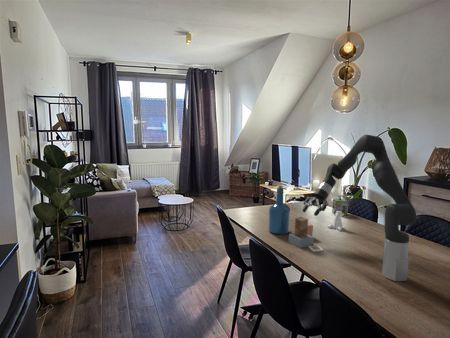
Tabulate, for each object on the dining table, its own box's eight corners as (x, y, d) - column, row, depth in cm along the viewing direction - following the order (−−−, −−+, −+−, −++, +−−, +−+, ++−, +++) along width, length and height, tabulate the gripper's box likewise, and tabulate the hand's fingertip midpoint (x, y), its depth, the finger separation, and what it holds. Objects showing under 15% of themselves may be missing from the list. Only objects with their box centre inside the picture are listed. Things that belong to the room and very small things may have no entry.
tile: (323, 250, 164) (323, 249, 164) (313, 251, 163) (313, 250, 163) (318, 246, 169) (318, 245, 169) (308, 247, 169) (308, 245, 168)
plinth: (313, 245, 172) (313, 237, 171) (299, 248, 168) (299, 239, 167) (302, 239, 181) (302, 231, 180) (288, 242, 177) (288, 234, 176)
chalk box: (347, 216, 232) (349, 197, 230) (335, 215, 232) (336, 196, 230) (343, 212, 241) (344, 194, 239) (331, 212, 241) (332, 194, 239)
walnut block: (307, 235, 173) (307, 219, 172) (301, 237, 170) (302, 220, 169) (299, 233, 177) (300, 216, 176) (294, 235, 174) (295, 218, 172)
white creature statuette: (326, 227, 203) (327, 210, 201) (333, 225, 208) (334, 208, 207) (340, 231, 196) (341, 213, 194) (346, 228, 201) (347, 211, 200)
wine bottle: (264, 231, 194) (265, 185, 190) (275, 226, 203) (277, 183, 199) (282, 236, 184) (284, 188, 180) (293, 231, 194) (295, 185, 190)
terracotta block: (312, 238, 183) (312, 225, 182) (304, 238, 182) (305, 225, 181) (308, 235, 188) (309, 222, 187) (301, 235, 187) (301, 223, 186)
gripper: (310, 186, 184) (296, 206, 179) (330, 190, 173) (316, 212, 168) (316, 193, 188) (302, 214, 183) (335, 198, 176) (321, 220, 171)
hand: (309, 213), depth 175 cm, fingers open, 8 cm apart
